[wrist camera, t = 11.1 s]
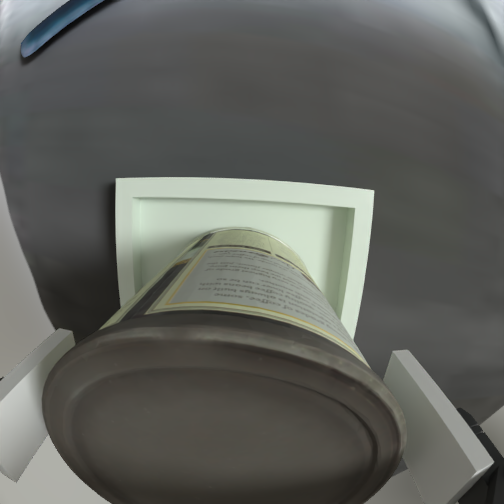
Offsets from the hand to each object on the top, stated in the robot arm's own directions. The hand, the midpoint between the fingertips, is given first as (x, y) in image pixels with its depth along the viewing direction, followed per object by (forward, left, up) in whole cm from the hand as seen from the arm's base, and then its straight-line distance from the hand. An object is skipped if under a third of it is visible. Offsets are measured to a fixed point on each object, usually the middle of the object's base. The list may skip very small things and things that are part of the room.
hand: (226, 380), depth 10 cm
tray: (0, 0, -10) cm, 10 cm away
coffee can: (0, 0, -10) cm, 10 cm away
